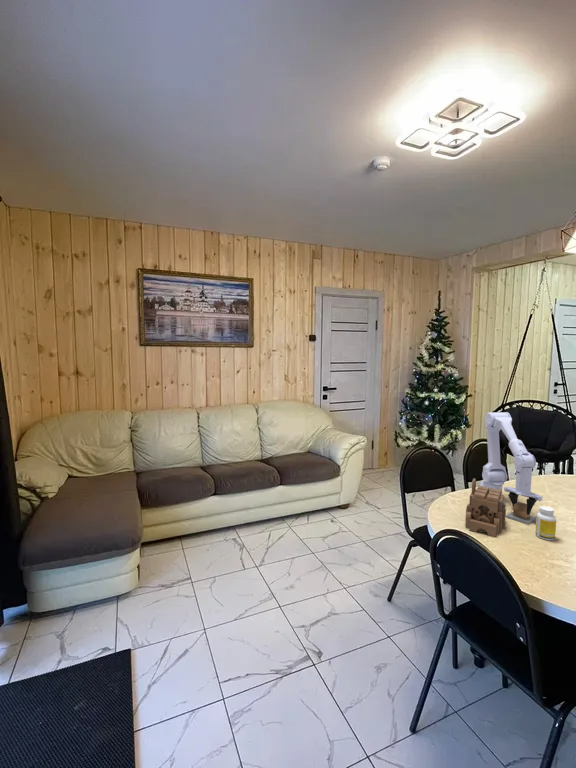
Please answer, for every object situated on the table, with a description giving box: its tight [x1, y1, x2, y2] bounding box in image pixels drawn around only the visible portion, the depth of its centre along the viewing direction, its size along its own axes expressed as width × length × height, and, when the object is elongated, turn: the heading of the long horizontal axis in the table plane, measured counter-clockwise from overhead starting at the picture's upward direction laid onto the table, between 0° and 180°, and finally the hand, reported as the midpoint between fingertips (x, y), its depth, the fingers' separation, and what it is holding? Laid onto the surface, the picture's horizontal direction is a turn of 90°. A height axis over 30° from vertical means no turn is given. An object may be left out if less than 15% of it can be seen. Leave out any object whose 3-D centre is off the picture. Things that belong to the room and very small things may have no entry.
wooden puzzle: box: [464, 477, 507, 538], centre depth 160 cm, size 22×15×19 cm, turn 145°
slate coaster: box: [505, 511, 536, 525], centre depth 166 cm, size 9×9×1 cm
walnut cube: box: [512, 501, 532, 519], centre depth 166 cm, size 5×5×5 cm
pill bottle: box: [535, 505, 557, 541], centre depth 149 cm, size 6×6×12 cm
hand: (521, 511), depth 166 cm, fingers closed on walnut cube, 5 cm apart
